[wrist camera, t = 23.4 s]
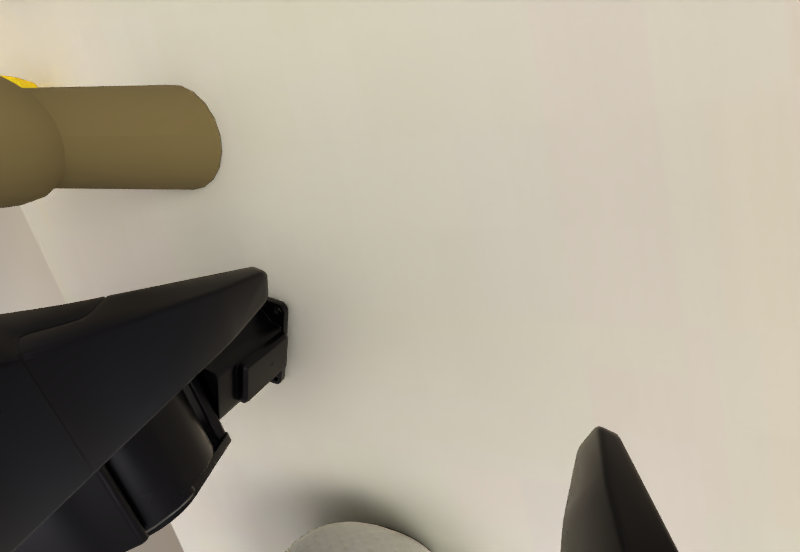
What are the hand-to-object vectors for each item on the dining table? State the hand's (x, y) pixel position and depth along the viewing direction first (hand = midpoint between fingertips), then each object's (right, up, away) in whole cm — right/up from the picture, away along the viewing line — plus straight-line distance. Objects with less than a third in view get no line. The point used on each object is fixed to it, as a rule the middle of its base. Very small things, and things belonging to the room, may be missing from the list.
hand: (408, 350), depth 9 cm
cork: (-14, +10, +14) cm, 22 cm away
